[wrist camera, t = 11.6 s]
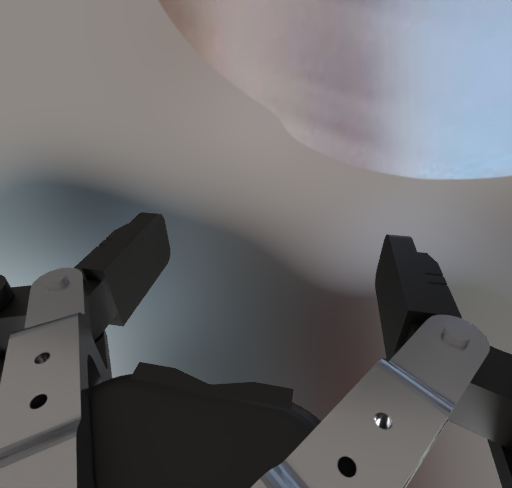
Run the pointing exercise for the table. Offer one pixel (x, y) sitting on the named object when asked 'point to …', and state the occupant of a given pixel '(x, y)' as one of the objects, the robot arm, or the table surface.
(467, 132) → the table surface
